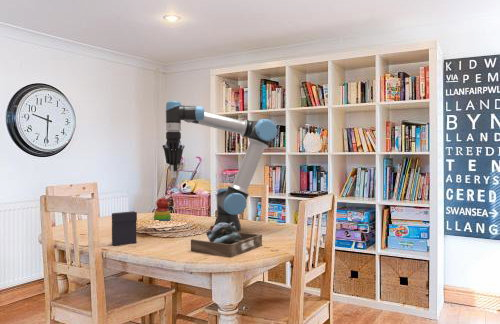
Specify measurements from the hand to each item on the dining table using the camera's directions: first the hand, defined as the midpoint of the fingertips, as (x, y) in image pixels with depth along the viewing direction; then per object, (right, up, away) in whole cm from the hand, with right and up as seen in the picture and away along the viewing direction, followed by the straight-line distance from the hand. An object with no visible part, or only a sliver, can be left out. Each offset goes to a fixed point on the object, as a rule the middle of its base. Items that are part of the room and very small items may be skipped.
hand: (173, 177), depth 226 cm
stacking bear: (-9, -30, +20) cm, 37 cm away
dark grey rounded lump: (+28, -32, -27) cm, 50 cm away
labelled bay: (+29, -31, -25) cm, 49 cm away
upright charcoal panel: (-20, -31, -17) cm, 41 cm away
